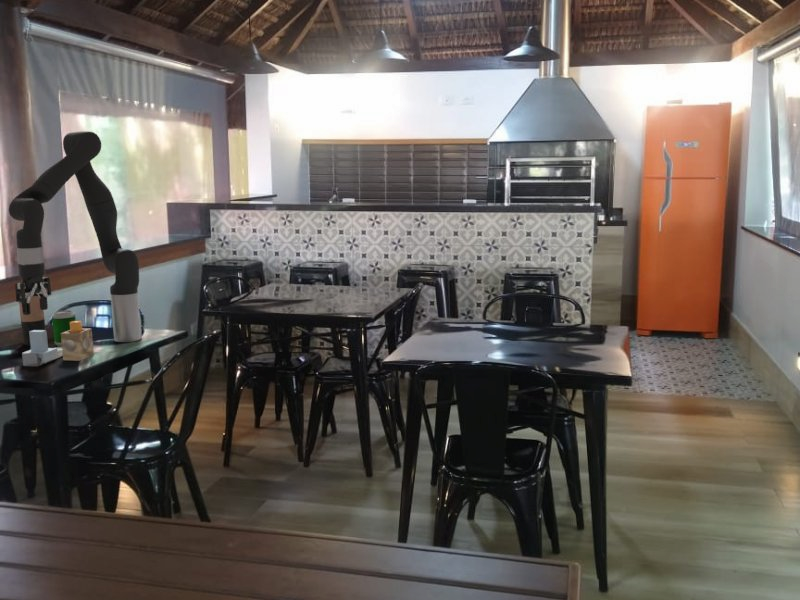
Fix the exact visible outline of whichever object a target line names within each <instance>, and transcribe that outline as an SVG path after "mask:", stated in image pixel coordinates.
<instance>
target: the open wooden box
mask: <svg viewBox="0 0 800 600" xmlns="http://www.w3.org/2000/svg"><path fill="white" fill-rule="evenodd" d="M93 340H94V339H93V330H92V328H89V327H88V328H86V327H85V328H84V327H82V331H81V332H79V333H78V332H70V330H69V331H66V332H63V333H61V341H62V352H63V356H62V360H63V361H76V362H77V361H78V362H81V361H83V360H85V359H87V357H88V358H90V357H92V356H94V355H95V353H94V352H95V350H94V341H93ZM89 356H90V357H89Z"/></svg>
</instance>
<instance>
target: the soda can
mask: <svg viewBox="0 0 800 600" xmlns="http://www.w3.org/2000/svg"><path fill="white" fill-rule="evenodd" d="M51 318H52V319H51V321H52V322H51V323H52V331H53V332H52V333H53V341H54V344H55V345H56V347H57V346H60V345H62V341H61V333H63V332H66V331H69V330H70V322H72V321H77V320H76V319H77V318H76V313H75V312H74V311H73V310H70V309H68V310H66V309H65V310H58V311H55V312H53V313H52V315H51Z"/></svg>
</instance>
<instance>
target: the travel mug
mask: <svg viewBox="0 0 800 600" xmlns="http://www.w3.org/2000/svg"><path fill="white" fill-rule="evenodd" d="M26 293H27V292H26ZM21 297H22V296H21V294H20V298H21ZM26 298H27V297H25V299H26ZM39 299H40V297H39V296H38V294H33V297H31V299H30V301H29V303H30V310H31V314H30V315H24V314H23V311H22V303H21V302H18V304H19V305H18V306H19V316H20V324H21V332H22V337H23V339H22V340H23V344H24V345H25V346H30V347H31V345H30V335H29V332H30V331H33V330H46V321H45V319H46V318H45V310H41V309H40V300H39Z"/></svg>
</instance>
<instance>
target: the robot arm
mask: <svg viewBox="0 0 800 600" xmlns="http://www.w3.org/2000/svg"><path fill="white" fill-rule="evenodd" d="M100 138H101V137H99V135H98V134H97V133H95V132H93V131H90V130H81V131H72V132H69V133H67V134H65V135H64V137H63V141H62V145H63V151H64V153H65V156H64V157H63V158H62V159H60V160H59V161H58V162H56V163H54V164H53V165H51V166H50V167H48V169H46V170H44V172H42V173H41V174H40V175H39V177H38V178H37V179H35V181H34V182H33V183H32V185H30V187H27V188H26V189H25V190H23V191H22V192H20V193H19V194H18V195H16V196H15V197H14V198H13V199H12V200H11V201H10V203H9V207H8V213H9V215H10V217H11V218H12V219H13V220H16V221H19V222H20V221H21V222H23V227H22V229H21V228H20V229H18V230H17V232H16V236H15V237H16V247H17V253H16V256H17V258H16V259H17V268H18V277H19V278H21V279H22V282H15V284H14V286H15V287H14V288H15V302H17V303H19V302H21V303H22V311H23V314H24V315H30V314H31V310H30V303H29V301H30V299H31V297H33V294H38V296H39V297H40V299H39V300H40V309H41V310H44V311H46V310H48V307H49V306H48V298H49V296H51V295H52V289H51V288H52V287H51V286H52V285H51V279H50V277H49V276H46V268H45V258H44V257H45V256H44V251H43V241H42V229H43V226H44V225H43V224H44V219H45V209H44V206H43V204H45V203H48V202H50V201H52V199H53V198H54V197H55V196H56V195H57V194H58V193H59V191H61V189H62V187H64V185H65V184H66V183H67V182H69V180H70V179H71V178H72V177H73V176H74V175H75V178H76V180H77V183H78V186H79V188H80V192H81V194H82V197H83V200H84V203H85V208H86V209H87V212H88V215H89V217H90V220H91V223H92V226H93V229H94V232H95V234H96V237H97V240H98V245H99V249H100V253H101V258H102V262H103V264H104V268H105V269H106V270H107V271H108V272H110V273H111V274H114V275H115V277H114V278H115V280H114V281H115V282H114V283H113V284H112V285H110V288H109V292H110V293H109V294H110V303H111V316H112V329H113V330H112V331H113V339H114V342H116V343H129V342H136V341H140V340H141V339H142V336H143V335H142V323H141V311H140V307H139V306H140V305H139V304H140V303H139V294H138V293H139V291H138V287H139V284H140V265H139V258H138V256H137V254H136V252H135V251H133V250H131V249H127V248H123V247H122V245H121V243H120V240H119V237H118V233H117V225H118V224H117V223H118V210H117V207H116V203H115V200H114V197H113V195H112V194H113V193H112V192H111V191H110V189H109V188H108V186H107V185H106V184H105V183H104V182H103V181H102V179H101V178H100V177H99V175H97V173H96V172H95V170H94V168H93V165H92V162H91V161H92V160H93V159H95V158H96V157H98V155H99V154H100V153H101V149H102V140H101V139H100ZM26 292H27V293H26ZM20 294H21V296H22V297H21V298H20ZM25 297H27V298H26V299H25Z"/></svg>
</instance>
